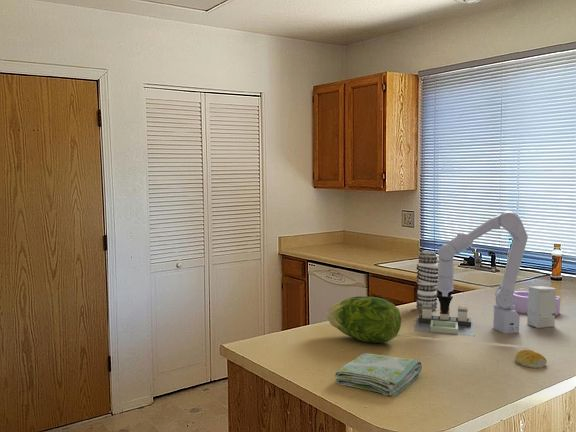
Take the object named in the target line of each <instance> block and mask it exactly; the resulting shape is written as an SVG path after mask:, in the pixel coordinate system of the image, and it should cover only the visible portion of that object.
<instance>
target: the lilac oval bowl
mask: <svg viewBox="0 0 576 432" xmlns="http://www.w3.org/2000/svg"><path fill="white" fill-rule="evenodd" d="M513 295H514V304H513V305H515V311H516V312H517V313H522V314H528V296H529V291H525V290H519V291H516V290H514V294H513ZM560 307H561V296H559V295H556V306H555V316H559V314H560V313H561V312H560V310H561V308H560Z"/></svg>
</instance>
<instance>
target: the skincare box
mask: <svg viewBox="0 0 576 432" xmlns="http://www.w3.org/2000/svg"><path fill="white" fill-rule="evenodd" d="M528 292H529V296H528V313H527V319H526V321H527V322H526V324H527V325H529V326H531V327H534V328H536V329H539V328H541V329H542V328H551V327H552V328H553V327H555V326H556V315H555V306H556V296H557V288H556V287H555V288H554V287H551V286H547V285H546V286H543V285H538V286H535V285H534V286H528Z"/></svg>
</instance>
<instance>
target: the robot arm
mask: <svg viewBox="0 0 576 432" xmlns="http://www.w3.org/2000/svg"><path fill="white" fill-rule="evenodd" d="M501 227H502V229H504V230H505V231H507V232H508V233H509V235H510V236H511V238H512V242H511V246H510V250H509V253H508V257H507V262H506V265H505V269H504V273H503V276H502V280H501V282H500V286H499V287H498V288H497V290H496V291H495V295H494V296H495V303H494V304H493V323H492V324H493V325H492V329H494V330H496V331H499V332H501V333H502V334H516V333H517V334H518V333H519V334H520V321H521V319H520V318H521V317H520V314H519V312H516V311H515V305H513V304H514V295H513V294H514V291H515V289H516V282H517V279H518V275H519V272H520V269H521V264H522V261H523V258H524V253H525V249H526V247H527V242H528V237H529V236H528V233H527V230H526V229H525V227H524V223H523V221H522V220H521V218H520V217H519V216H518V215H517V214H516V213H515V212H514V211H513V210H505V211H503V212H502V213H501V214H500V213H499V214H497V215H495V216H493V217H491V218H489V219H488V220H486V221H485V222H483V223H481V224H480V225H478V226H477V227H476V228H474V229H473V230H471V231H470V232H469V233H468V232H462V233H460V232H459V233H457V234H456V236H455V237H454V238H452V239H451V240H447V241H446V243H445V244H442V245H441V246H440V247H439V249H438V252H437V256H438V257H439V258H438V263H437V268H438V271H437V272H438V274H437V277H438V279H437V281H438V282H437V285H436V286H435V287H434V289H436V290H437V297H436V298H437V300H438V302H439V309H440V308H441V313H442V314H447V313H448V309H449V310H450V304H451V301H452V300H453V298H454V297H453V296H452V294H453V291H454V288H455V287H454V273H455V271H454V270H455V268H454V267H455V264H454V257H455V255H459V254H461V253H462V252H465V251H466V250H467V249H469V248H470V247H472V246H473V242H474V241H475V240H476V239H478V238H480V237H482V236H483V235H485V234H486V233H488V232H490V231H493V230H501Z"/></svg>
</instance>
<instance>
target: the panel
mask: <svg viewBox="0 0 576 432" xmlns="http://www.w3.org/2000/svg"><path fill="white" fill-rule="evenodd" d="M414 325H415V326H414V330H413V331H414V332H421V333H432V334H447V335H458V336H468V337H469V336H470V337H475V336H476V334H475V333H476V332H475V327H474V322H473V321H472V319H471V317H470V318H469V317H467V321H458V316H456V317H455V316H449V320H442V319H440V315H432V319H429V318H422V314H418V317H416V320H415V324H414Z"/></svg>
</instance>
